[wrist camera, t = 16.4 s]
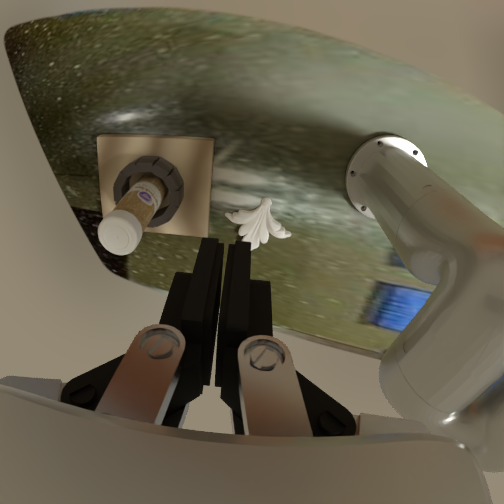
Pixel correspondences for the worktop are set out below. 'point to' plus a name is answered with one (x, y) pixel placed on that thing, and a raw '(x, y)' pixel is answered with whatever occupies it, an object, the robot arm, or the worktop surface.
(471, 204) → the robot arm
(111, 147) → the socket board
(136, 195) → the sprinkles bottle
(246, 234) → the acanthus leaf ornament
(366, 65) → the worktop surface
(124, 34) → the worktop surface
